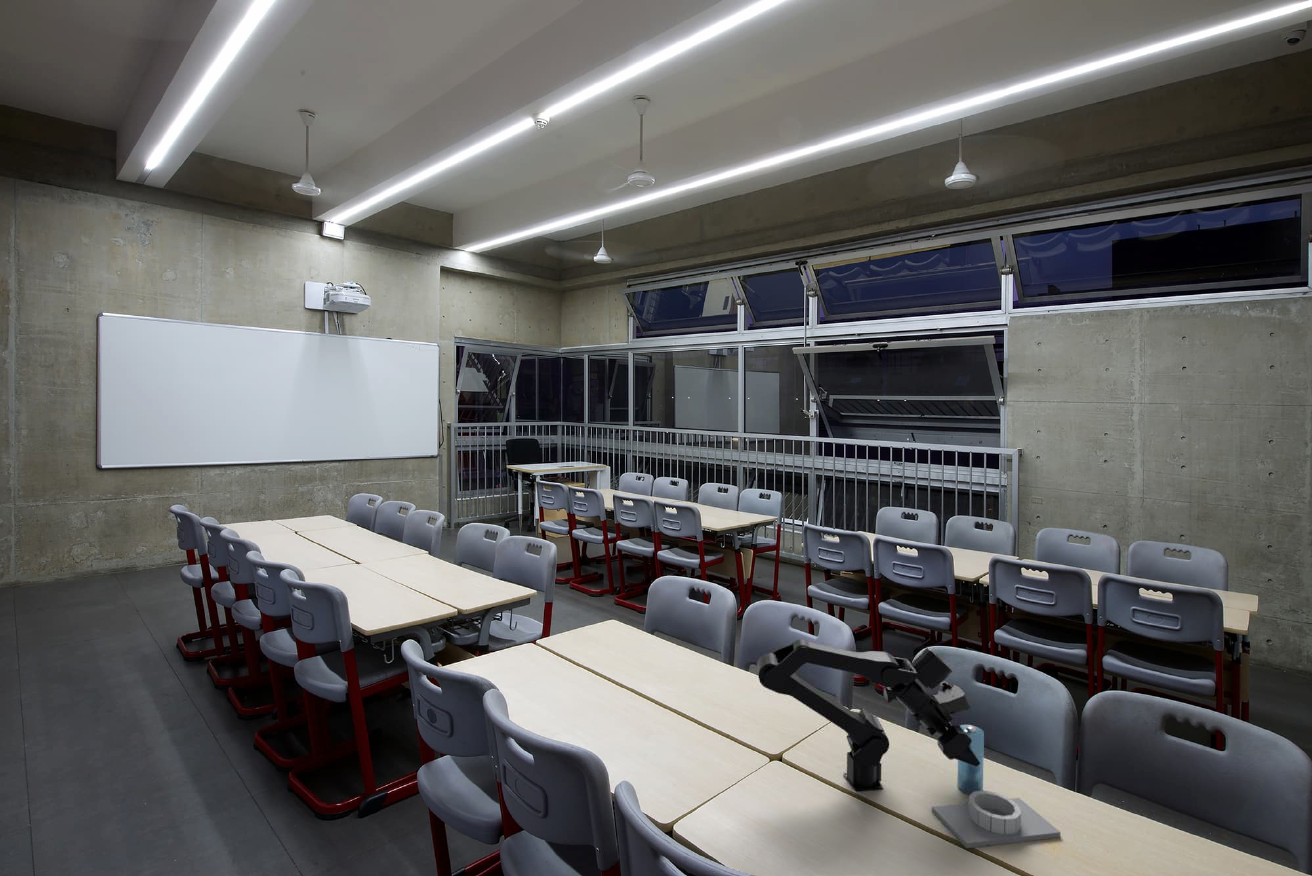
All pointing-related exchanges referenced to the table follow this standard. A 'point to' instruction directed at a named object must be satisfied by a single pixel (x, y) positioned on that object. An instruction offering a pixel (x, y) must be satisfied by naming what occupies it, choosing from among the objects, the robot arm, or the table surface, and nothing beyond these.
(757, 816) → the table surface
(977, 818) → the socket plate
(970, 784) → the cylinder
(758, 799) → the table surface
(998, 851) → the table surface
